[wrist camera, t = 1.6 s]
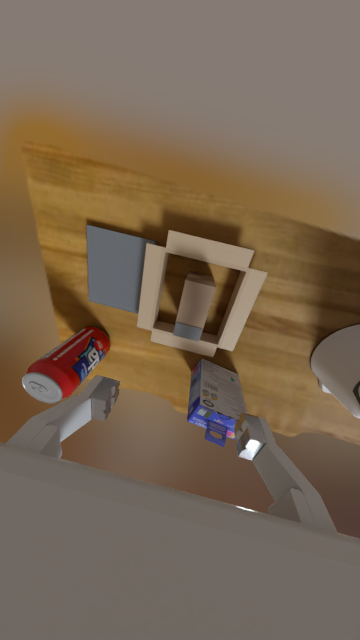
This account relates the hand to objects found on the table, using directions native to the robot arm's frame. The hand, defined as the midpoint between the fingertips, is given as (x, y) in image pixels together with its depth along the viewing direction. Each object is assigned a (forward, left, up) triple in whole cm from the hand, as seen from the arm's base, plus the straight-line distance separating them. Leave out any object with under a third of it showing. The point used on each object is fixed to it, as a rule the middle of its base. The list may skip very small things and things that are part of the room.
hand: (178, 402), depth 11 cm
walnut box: (0, 0, -24) cm, 24 cm away
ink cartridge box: (-9, +17, -24) cm, 31 cm away
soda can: (+20, +16, -24) cm, 35 cm away
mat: (+15, -1, -24) cm, 28 cm away
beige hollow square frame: (0, 0, -23) cm, 23 cm away
